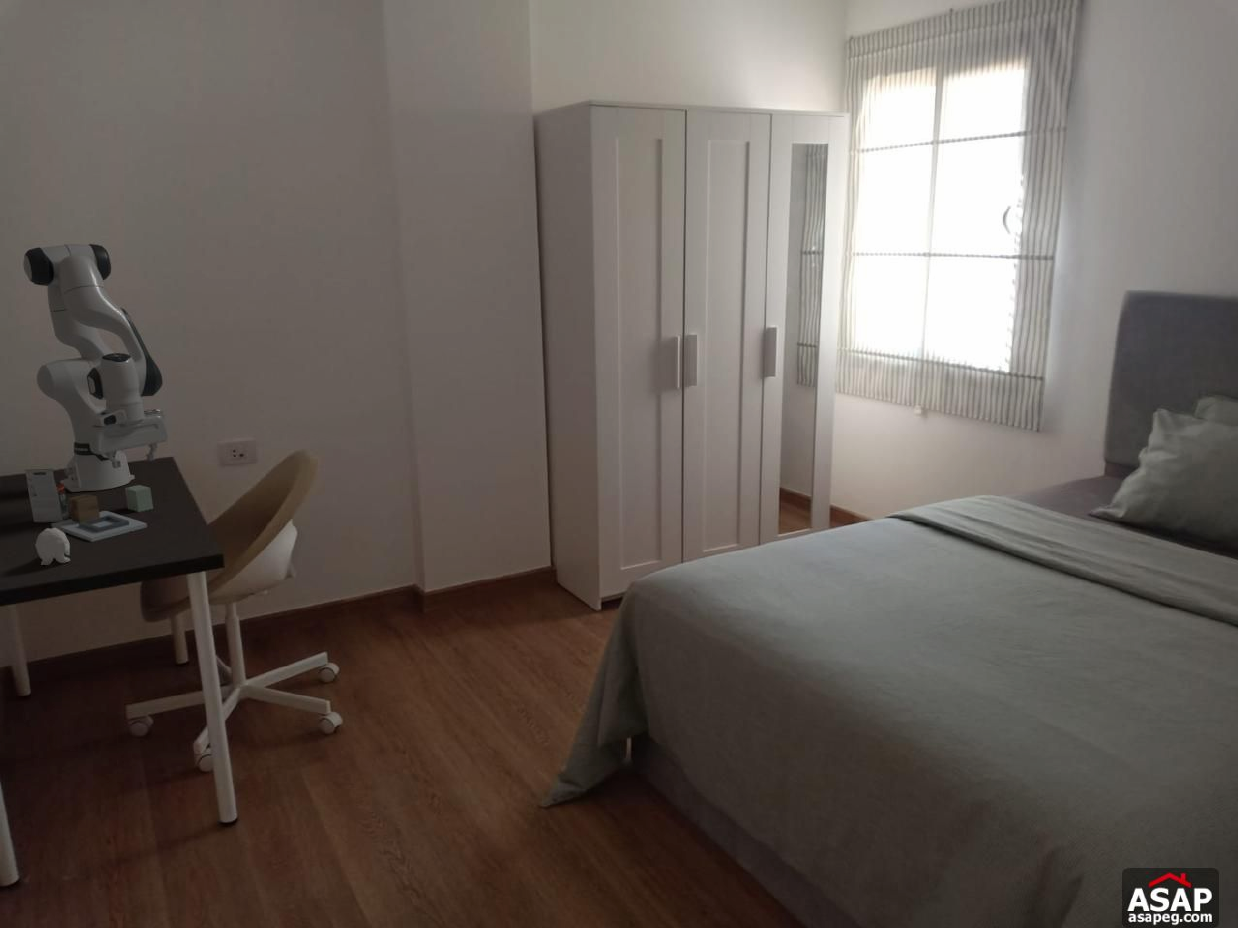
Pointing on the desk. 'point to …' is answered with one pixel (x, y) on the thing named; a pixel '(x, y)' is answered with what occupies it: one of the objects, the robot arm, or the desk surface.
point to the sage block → (139, 498)
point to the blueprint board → (95, 520)
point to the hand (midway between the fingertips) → (134, 463)
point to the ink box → (46, 497)
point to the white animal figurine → (52, 546)
